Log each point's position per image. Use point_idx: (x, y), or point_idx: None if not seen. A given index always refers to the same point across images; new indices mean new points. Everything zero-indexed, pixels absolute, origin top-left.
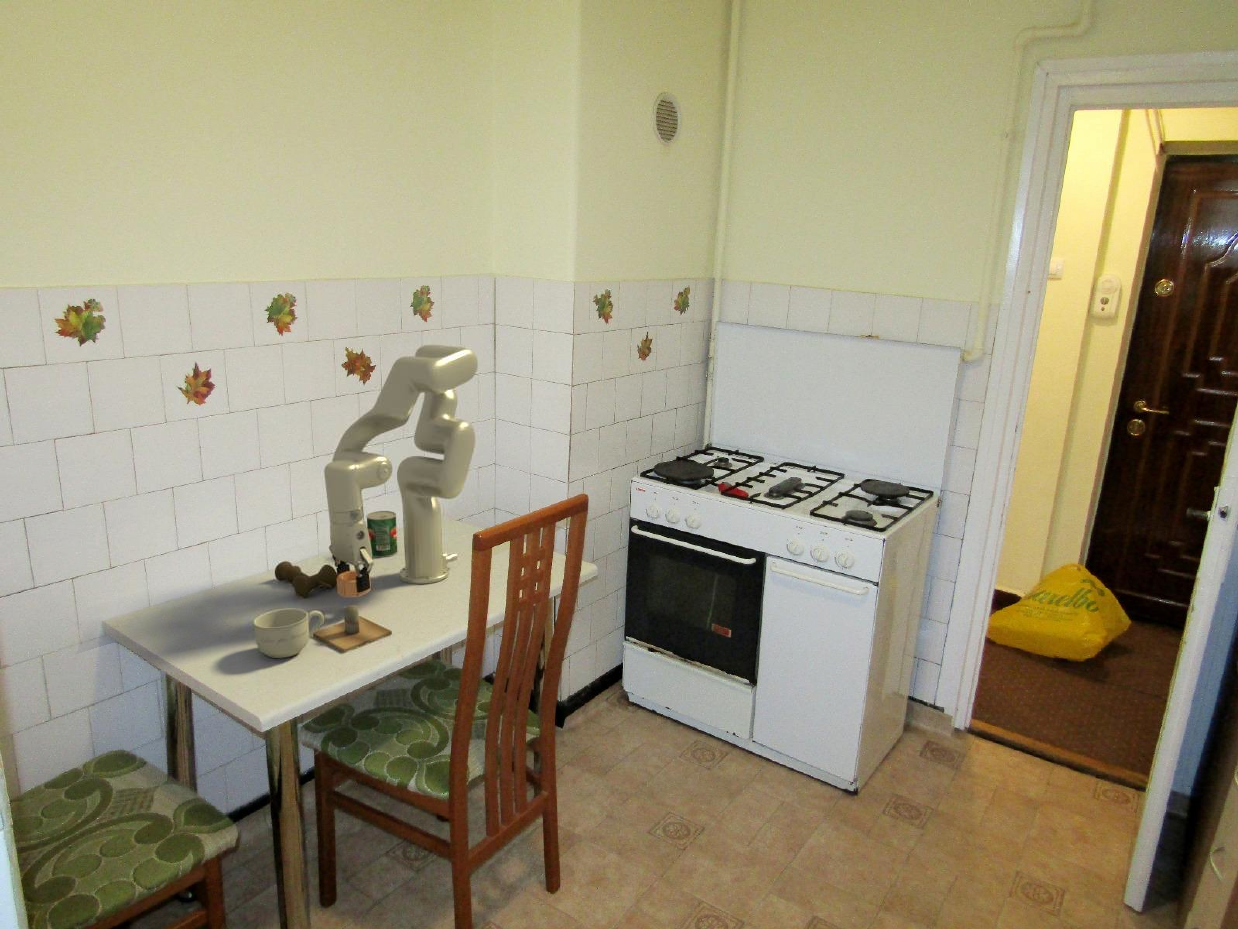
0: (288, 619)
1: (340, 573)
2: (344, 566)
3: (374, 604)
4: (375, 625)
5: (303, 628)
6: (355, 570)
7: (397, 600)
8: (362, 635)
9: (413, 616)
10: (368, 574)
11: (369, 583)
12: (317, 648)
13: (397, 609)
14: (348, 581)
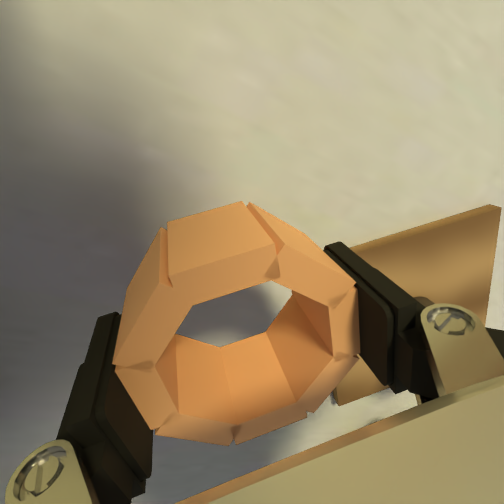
0: None
1: (149, 429)
2: (115, 448)
3: (199, 153)
4: (426, 240)
5: None
6: (145, 330)
7: (212, 13)
8: (454, 296)
9: (433, 51)
10: (404, 297)
11: (355, 257)
12: (403, 393)
13: (321, 78)
14: (314, 392)
